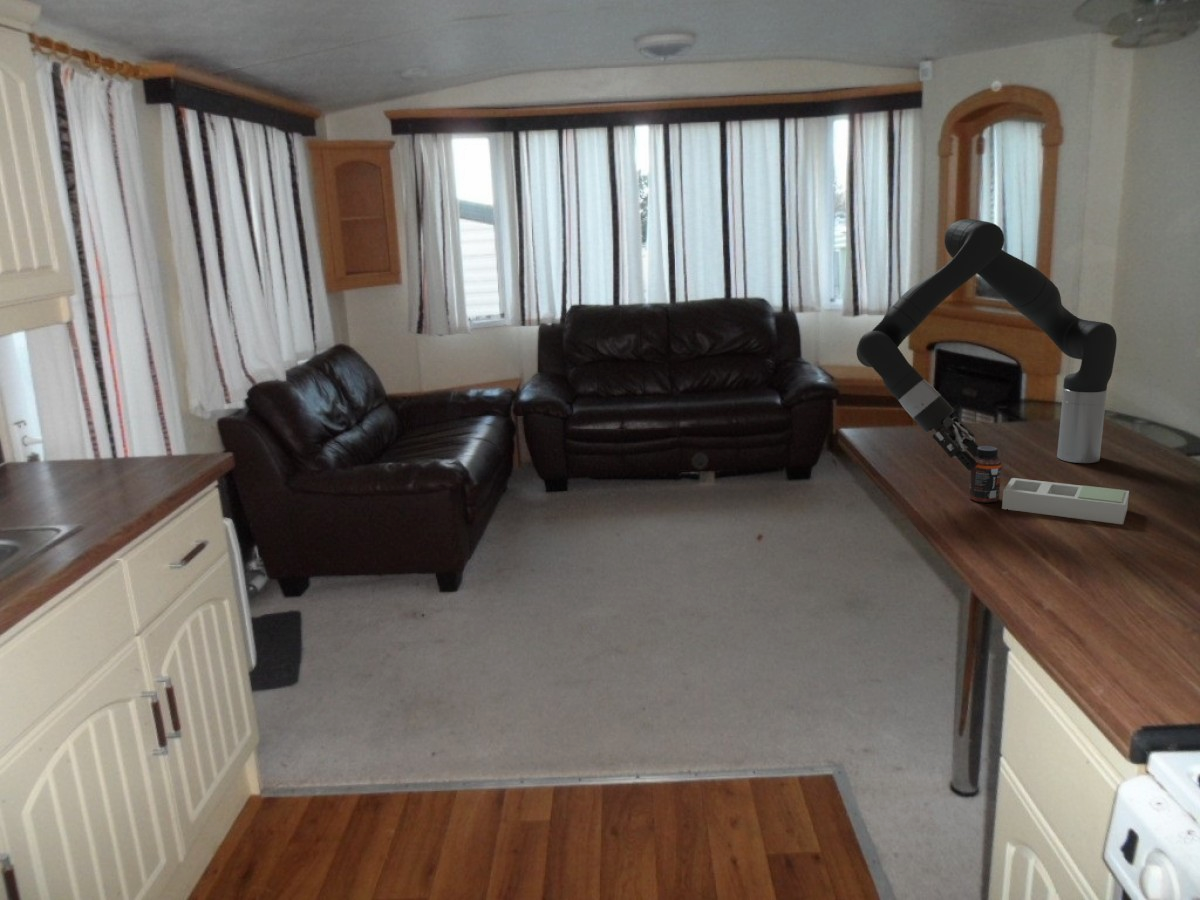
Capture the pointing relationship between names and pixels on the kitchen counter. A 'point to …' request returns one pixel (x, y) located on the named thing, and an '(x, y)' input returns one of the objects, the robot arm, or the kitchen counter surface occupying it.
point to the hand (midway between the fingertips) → (978, 462)
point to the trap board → (1066, 500)
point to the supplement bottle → (985, 475)
